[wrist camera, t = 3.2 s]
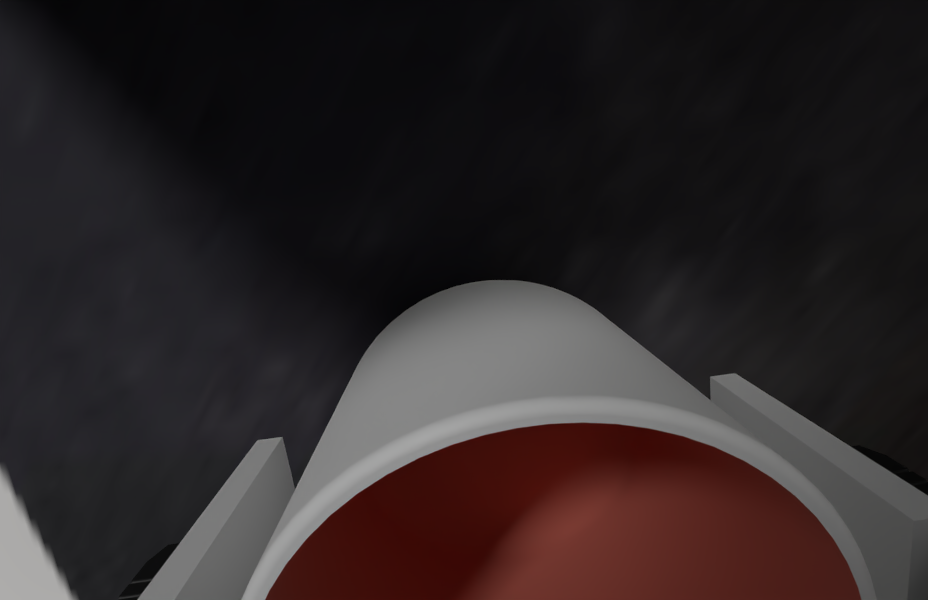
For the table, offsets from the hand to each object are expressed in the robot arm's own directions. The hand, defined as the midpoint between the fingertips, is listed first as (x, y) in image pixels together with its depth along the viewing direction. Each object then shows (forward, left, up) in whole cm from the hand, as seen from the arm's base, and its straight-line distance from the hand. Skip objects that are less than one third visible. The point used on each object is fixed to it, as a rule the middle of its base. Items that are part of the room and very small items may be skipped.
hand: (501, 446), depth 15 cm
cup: (0, 0, -2) cm, 2 cm away
